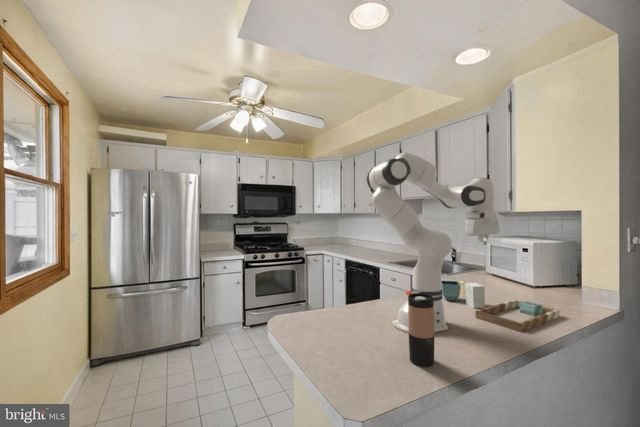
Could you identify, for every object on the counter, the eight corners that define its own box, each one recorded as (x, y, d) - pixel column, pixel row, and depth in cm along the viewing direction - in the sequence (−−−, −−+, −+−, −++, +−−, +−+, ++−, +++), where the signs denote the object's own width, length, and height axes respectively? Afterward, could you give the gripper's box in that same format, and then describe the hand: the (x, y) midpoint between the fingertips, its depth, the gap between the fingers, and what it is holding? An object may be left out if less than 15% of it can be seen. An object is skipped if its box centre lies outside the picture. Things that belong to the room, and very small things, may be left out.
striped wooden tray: (520, 332, 111) (520, 324, 111) (475, 317, 126) (475, 310, 126) (559, 317, 126) (559, 310, 126) (514, 305, 141) (514, 299, 141)
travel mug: (428, 354, 94) (427, 293, 94) (439, 367, 87) (438, 299, 87) (405, 355, 94) (404, 293, 94) (413, 367, 86) (412, 300, 86)
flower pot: (442, 301, 150) (442, 284, 150) (440, 296, 159) (440, 280, 159) (461, 302, 148) (460, 285, 148) (458, 297, 156) (457, 281, 156)
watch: (457, 291, 170) (456, 281, 170) (460, 291, 171) (460, 280, 171) (465, 293, 164) (464, 282, 165) (469, 292, 165) (468, 282, 166)
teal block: (534, 317, 127) (534, 306, 127) (520, 312, 132) (519, 302, 132) (542, 314, 129) (542, 304, 129) (528, 310, 135) (528, 301, 135)
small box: (485, 308, 138) (484, 286, 138) (473, 308, 138) (473, 286, 139) (476, 303, 146) (476, 282, 146) (465, 303, 146) (464, 282, 147)
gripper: (489, 214, 139) (489, 242, 139) (462, 214, 129) (462, 245, 129) (503, 213, 134) (503, 244, 134) (475, 214, 124) (476, 247, 124)
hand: (483, 244), depth 131 cm, fingers closed
